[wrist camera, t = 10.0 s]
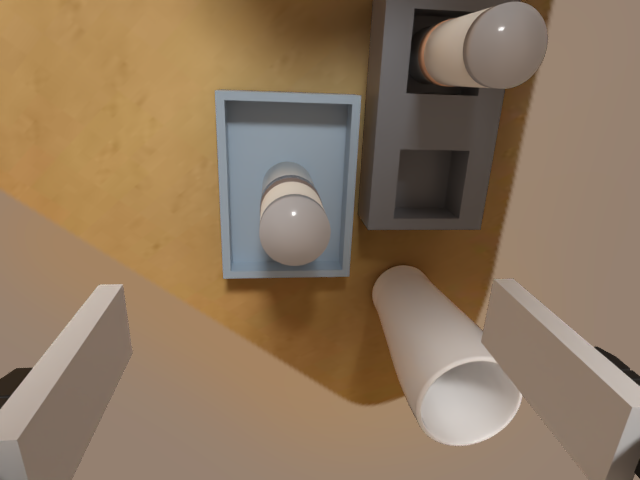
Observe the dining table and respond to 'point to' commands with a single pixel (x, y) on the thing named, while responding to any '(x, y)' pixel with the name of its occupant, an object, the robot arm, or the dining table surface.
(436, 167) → the fuse block
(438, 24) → the fuse
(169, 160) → the dining table surface
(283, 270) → the parts tray
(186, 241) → the dining table surface
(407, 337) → the drinking glass
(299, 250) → the cylinder
